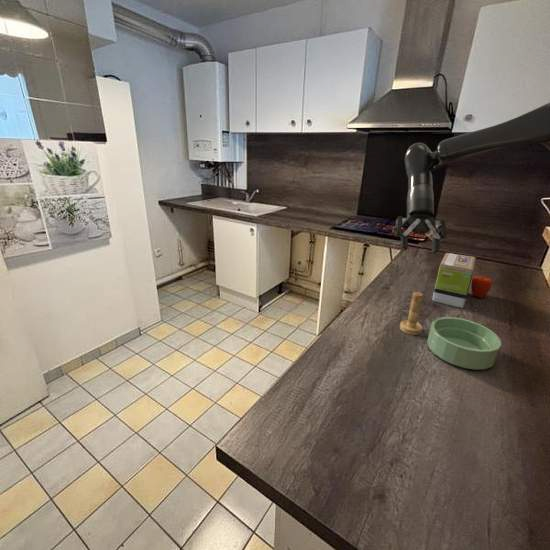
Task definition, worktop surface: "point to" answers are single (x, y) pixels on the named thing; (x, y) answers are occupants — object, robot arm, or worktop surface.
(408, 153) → the robot arm
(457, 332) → the bowl
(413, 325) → the brown round-based rod
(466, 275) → the tea box
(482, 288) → the red bell pepper
